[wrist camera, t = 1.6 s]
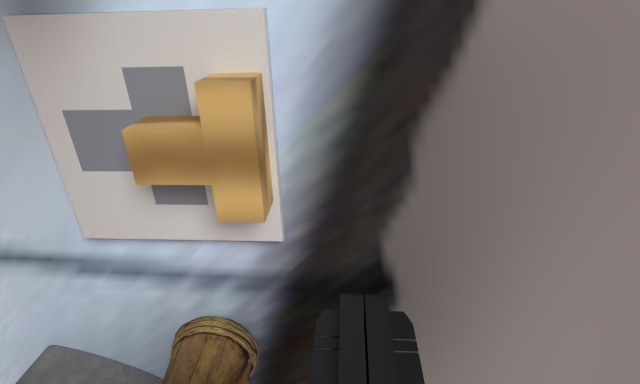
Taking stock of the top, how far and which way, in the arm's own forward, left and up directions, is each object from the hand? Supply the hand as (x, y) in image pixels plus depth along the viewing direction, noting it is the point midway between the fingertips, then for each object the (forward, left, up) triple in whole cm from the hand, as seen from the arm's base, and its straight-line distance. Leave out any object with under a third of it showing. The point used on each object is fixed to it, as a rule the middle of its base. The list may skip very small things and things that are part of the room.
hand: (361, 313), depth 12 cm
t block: (0, -11, -17) cm, 21 cm away
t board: (0, -15, -18) cm, 24 cm away
